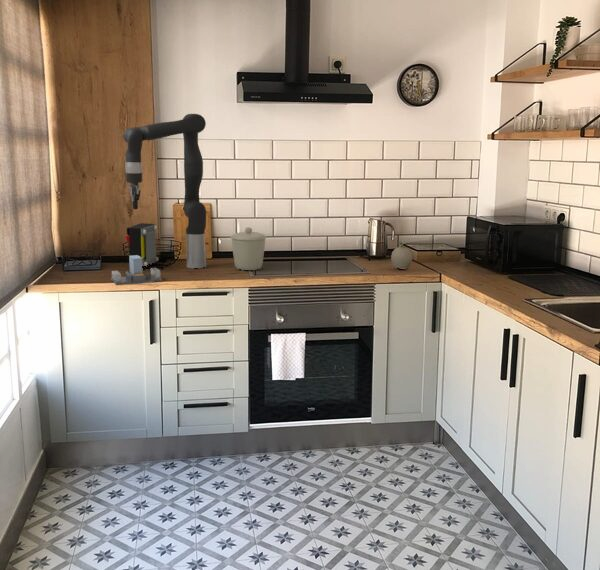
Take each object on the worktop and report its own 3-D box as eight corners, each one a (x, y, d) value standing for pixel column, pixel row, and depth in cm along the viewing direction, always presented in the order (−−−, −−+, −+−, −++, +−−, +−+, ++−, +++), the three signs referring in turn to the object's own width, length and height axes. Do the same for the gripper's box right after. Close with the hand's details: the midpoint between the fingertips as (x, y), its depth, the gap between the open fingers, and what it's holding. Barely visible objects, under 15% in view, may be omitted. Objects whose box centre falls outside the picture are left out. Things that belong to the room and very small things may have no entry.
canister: (231, 265, 360) (230, 224, 356) (266, 265, 362) (266, 224, 357) (229, 272, 343) (229, 229, 338) (266, 272, 344) (266, 230, 339)
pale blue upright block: (130, 276, 325) (129, 255, 323) (138, 276, 327) (137, 255, 325) (134, 280, 318) (133, 258, 316) (142, 279, 320) (142, 258, 318)
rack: (110, 279, 323) (110, 270, 322) (155, 276, 333) (155, 266, 332) (116, 285, 313) (115, 275, 312) (162, 281, 322) (162, 271, 321)
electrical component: (145, 268, 349) (144, 228, 345) (126, 267, 351) (125, 227, 347) (159, 262, 366) (158, 224, 362) (141, 261, 368) (140, 223, 363)
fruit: (405, 266, 365) (407, 238, 361) (414, 271, 354) (416, 241, 350) (386, 267, 362) (388, 238, 359) (395, 271, 351) (396, 242, 348)
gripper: (145, 172, 323) (146, 210, 327) (138, 170, 335) (139, 207, 339) (129, 173, 320) (130, 211, 324) (122, 171, 332) (124, 207, 335)
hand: (135, 209), depth 331 cm, fingers closed
